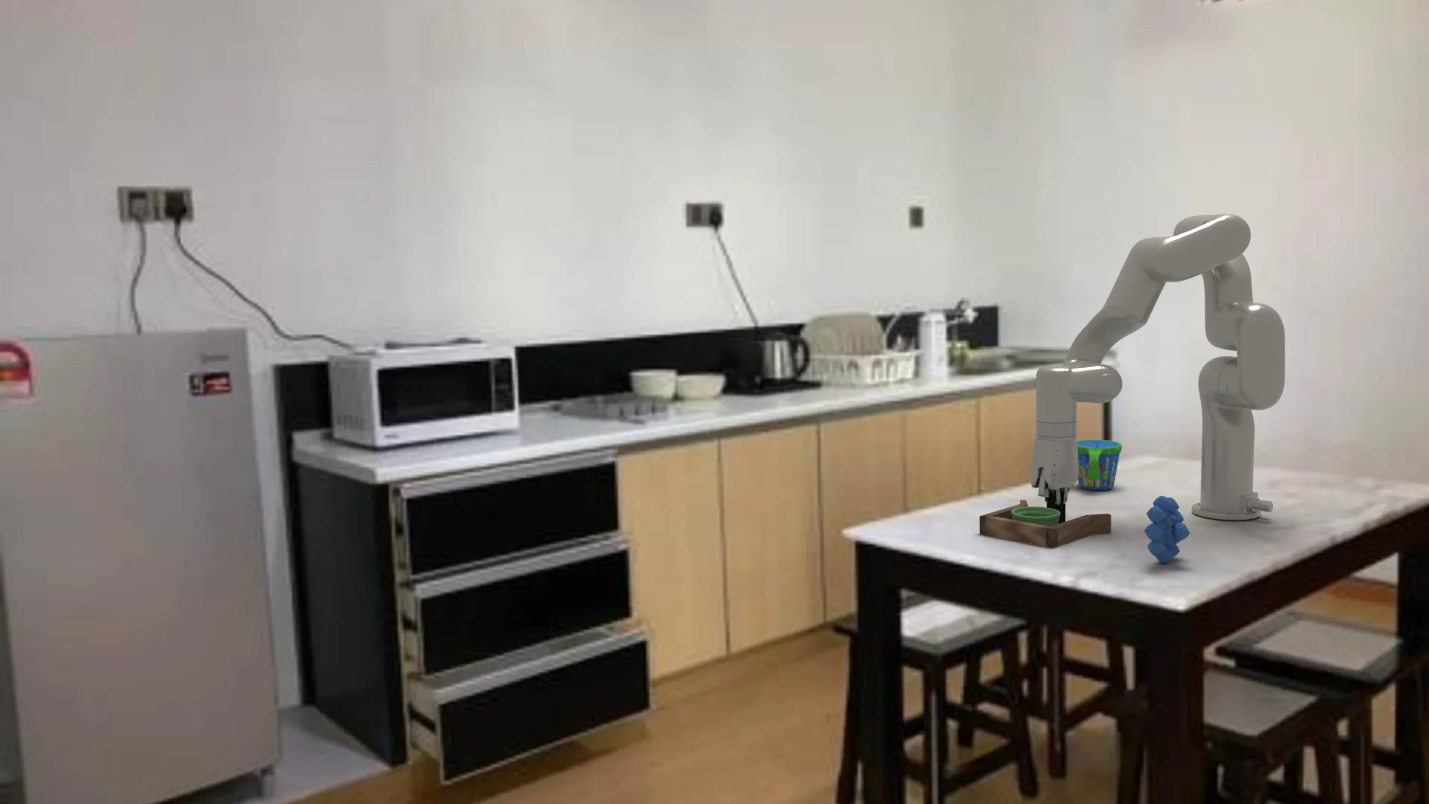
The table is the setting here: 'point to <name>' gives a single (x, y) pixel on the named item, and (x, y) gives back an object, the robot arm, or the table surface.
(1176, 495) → the table surface
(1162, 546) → the grapes
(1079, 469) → the snack cup
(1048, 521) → the ramekin
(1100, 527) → the walnut holder
